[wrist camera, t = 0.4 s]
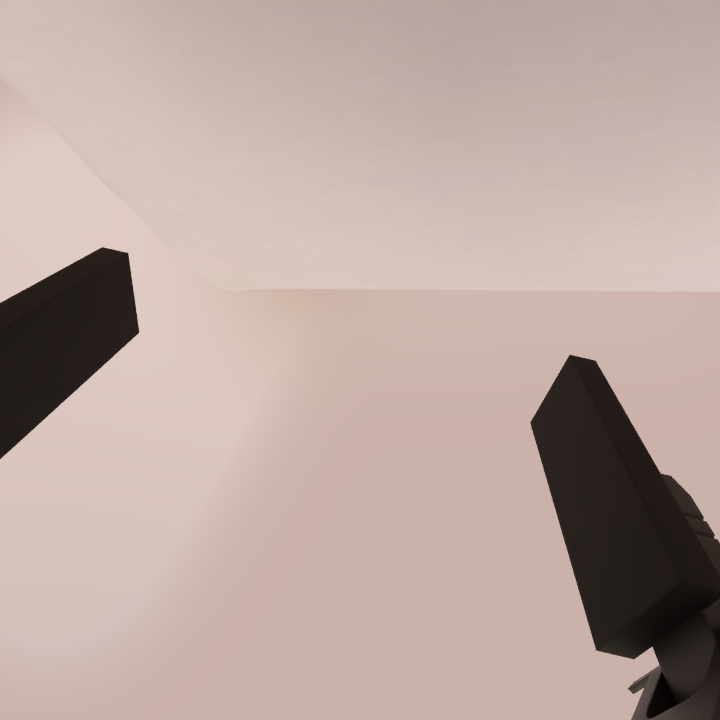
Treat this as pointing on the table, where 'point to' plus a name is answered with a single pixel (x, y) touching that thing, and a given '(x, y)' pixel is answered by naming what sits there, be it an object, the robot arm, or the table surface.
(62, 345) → the robot arm
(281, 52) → the table surface
